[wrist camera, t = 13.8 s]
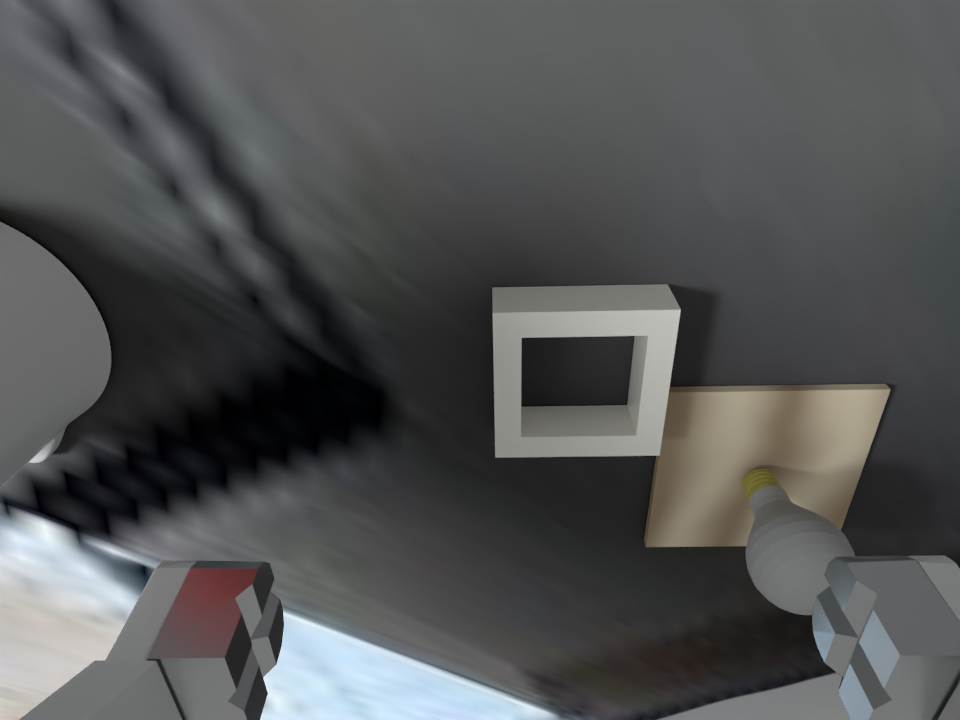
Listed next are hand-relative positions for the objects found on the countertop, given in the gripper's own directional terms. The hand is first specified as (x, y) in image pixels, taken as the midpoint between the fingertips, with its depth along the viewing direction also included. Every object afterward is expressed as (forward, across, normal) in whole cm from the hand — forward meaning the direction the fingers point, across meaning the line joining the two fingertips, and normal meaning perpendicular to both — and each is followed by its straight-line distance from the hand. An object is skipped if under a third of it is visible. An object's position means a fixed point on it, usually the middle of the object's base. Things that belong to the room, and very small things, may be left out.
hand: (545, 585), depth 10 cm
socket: (+27, -4, +13) cm, 30 cm away
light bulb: (+27, -16, +21) cm, 38 cm away
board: (+27, -16, +22) cm, 38 cm away
